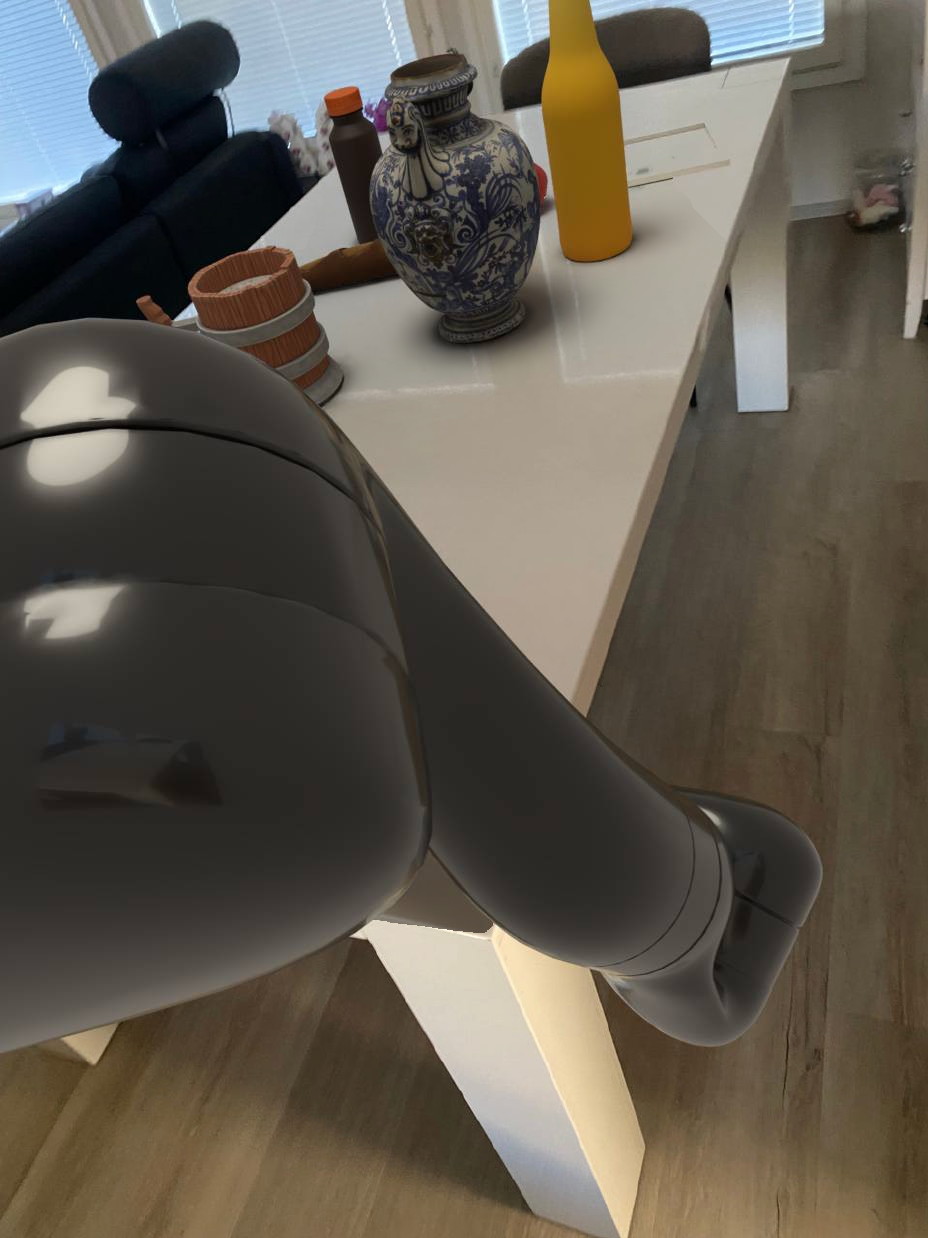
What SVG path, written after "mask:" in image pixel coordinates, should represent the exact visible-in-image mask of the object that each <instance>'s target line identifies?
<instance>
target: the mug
mask: <svg viewBox="0 0 928 1238" xmlns="http://www.w3.org/2000/svg"><path fill="white" fill-rule="evenodd" d="M299 267H300V266H299V264H298V262H297V259H296V256H295V254H294V252H293V250H291V249H290V248H284V247H278V246H276V245H266V246H265V247H261V248H255V249H251V250H250V249H249V250H245V251H239V252H236V253H233V254H231V255H230V254H229V255H228V256H225V257H224V258H222V259H219V260H218V261H216V262H214V263H212V264H210V265H207V266H205V267H203V268H201V269H200V270H198V271H196V272H195V274H194V275H193V276H192V278H191V279H190V281H189V283H188V286H187V291H188V295H189V296H190V299H191V303H192V304H193V306H194V308H195V310H196V313H197V315H196V316H192V317H187V318H183V319H178V320H172V319H171V317H170V316H169V315H168V314H166V313H165V312H164V311H163V308H162V307H160V306H159V305H158V304H156V303H155V302H153V299H152V298H151V296H150V295H144V296H142V297H140V298H138V299H137V300H136V304H137V307H138V308H139V310H140V311H141V312H142V313H143V315H144V316H145V318H146V319H147V321H152V322H156V323H161V324H165V325H169V326H174V327H178V328H182V329H187V330H191V331H195V332H200V333H202V334H205V335H207V336H209V337H212V338H214V339H216V340H219V341H221V342H223V343H226V344H228V345H230V346H233V347H235V348H238V349H240V350H242V351H245V352H247V353H249V354H251V355H253V356H255V357H256V358H258V359H260V360H261V361H263V362H265V363H266V364H268V365H270V366H271V367H273V368H275V369H276V370H278V371H279V372H280V373H282V374H283V375H284V376H286V377H287V378H288V379H290V380H291V381H292V382H294V383H295V384H296V385H298V386H299V387H300V388H301V389H302V390H303V391H304V392H305V393H306V394H308V395H309V396H310V397H311V398H312V399H313V400H314V401H315V402H316V403H317V404H318V405H319V406H320V405H322V404H324V403H325V402H327V400H329V399H330V398H331V397H332V396H333V395H334V394H335V392H337V390H338V388H339V386H340V384H341V382H342V380H343V377H344V373H343V372H344V371H343V369H342V366H341V365H340V364H339V363H338V362H337V361H336V360H334V358H333V357H331V356H330V354H328V352H329V350H330V341H329V338H328V336H327V332H326V328H325V327H324V325H323V324H322V323H321V322H319V321H318V320H317V318H316V315H315V313H314V309H315V307H316V299H315V296H314V294H313V291H312V290H311V287H310V285H309V283H308V282H307V281H306V280H304V279H302V276H301V273H300V270H299Z"/></svg>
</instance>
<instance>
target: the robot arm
mask: <svg viewBox="0 0 928 1238" xmlns="http://www.w3.org/2000/svg"><path fill="white" fill-rule="evenodd" d="M428 854H429V855H430V857H431V858H432V859H433V860H434V862H435V863H436V864H437V865H438V867H439V868H440V869H441V870H442V871H443V872H444V873H445V875H446V876H447V877H448V878H449V879H450V881H451V882H453V884H454V885H456V887H457V888H458V889H459V890H460V891H461V893H462V894H463V895H464V896H465V897H466V899H468V901H470V903H471V904H472V905H473V906H474V907H475V908H476V909H477V910H478V911H479V912H480V913H481V914H482V915H484V916H485V917H486V918H487V919H488V920H489V921H491V922H492V923H493V924H494V925H496V926H497V927H498V928H499V929H501V931H503V932H504V933H506V934H507V935H508V936H510V937H511V938H513V939H514V940H516V941H517V942H519V943H520V944H522V945H524V946H525V947H527V948H530V949H532V950H534V951H536V952H537V953H540V954H543V955H544V956H547V957H549V958H551V959H554V960H557V961H561V962H564V963H567V964H571V965H575V966H579V967H582V968H585V969H590V970H593V971H597V972H599V973H601V975H602V976H603V978H604V979H605V980H606V982H607V983H608V984H609V986H610V987H611V988H612V990H613V991H614V992H615V993H616V994H617V995H618V996H619V997H620V998H621V1000H623V1002H625V1004H626V1005H628V1007H630V1008H631V1009H632V1011H634V1012H635V1013H636V1014H637V1015H638V1016H639V1017H641V1018H642V1019H643V1020H644V1021H646V1022H647V1023H648V1024H650V1025H651V1026H653V1027H655V1028H656V1029H658V1030H659V1031H660V1032H662V1033H664V1034H666V1035H667V1036H669V1037H671V1038H673V1039H676V1040H677V1041H680V1042H683V1043H686V1044H689V1045H692V1046H696V1047H703V1048H704V1047H705V1048H715V1047H722V1046H725V1045H728V1044H731V1043H733V1042H734V1041H736V1040H738V1039H741V1037H742V1036H744V1035H745V1034H746V1033H747V1032H748V1031H749V1030H750V1029H751V1028H752V1027H753V1026H754V1024H755V1023H756V1022H757V1020H758V1018H760V1015H761V1014H762V1012H763V1010H764V1008H765V1006H766V1004H767V1002H768V1000H769V998H770V996H771V994H772V991H773V987H774V986H775V985H776V983H777V981H778V979H779V976H780V975H781V972H782V970H783V968H784V966H785V963H786V962H787V959H788V957H789V955H790V953H791V951H792V949H793V946H794V944H795V942H796V940H797V938H798V936H799V934H800V929H799V928H803V926H804V924H805V922H806V920H807V919H808V916H809V914H810V912H811V909H812V908H813V906H814V903H815V901H816V899H817V897H818V894H819V892H820V889H821V885H822V882H823V873H824V872H823V865H822V860H821V857H820V854H819V852H818V850H817V849H816V846H815V845H814V843H813V842H812V840H811V838H810V837H809V836H808V835H807V834H806V832H805V831H804V830H803V828H802V827H801V826H800V825H799V824H797V823H796V822H795V821H794V820H793V819H791V818H790V817H789V816H788V815H786V814H784V813H783V812H782V811H780V810H778V809H777V808H774V807H773V806H770V805H768V804H766V803H763V802H760V801H757V800H754V799H751V798H748V797H744V796H740V795H736V794H730V793H726V792H721V791H715V790H708V789H703V788H695V787H689V786H681V785H675V784H670V783H669V784H668V783H667V782H666V781H665V780H663V779H661V778H660V777H658V776H657V775H656V774H655V773H654V772H652V771H651V770H649V769H648V768H647V767H645V766H644V765H642V764H641V763H640V762H638V761H637V760H636V759H634V758H633V757H632V756H630V755H629V754H627V753H626V752H625V751H623V749H622V748H620V747H619V746H618V745H617V744H615V743H614V742H613V741H612V740H611V739H610V738H608V737H607V736H606V735H605V734H604V733H603V732H602V731H600V729H598V728H597V727H596V726H595V725H594V724H593V723H592V722H591V721H590V720H589V719H588V718H587V717H586V716H585V715H584V714H583V713H581V712H580V710H579V709H577V708H576V707H575V706H574V705H573V704H572V702H570V700H568V698H566V696H564V695H563V694H562V693H561V691H560V690H558V689H557V687H556V686H555V685H554V684H553V683H552V682H551V681H550V680H549V679H548V678H547V677H546V676H545V675H544V674H543V672H541V671H540V669H538V667H536V665H535V664H534V663H533V662H532V661H531V660H530V659H529V658H528V657H527V656H526V654H525V653H524V652H523V651H522V650H521V649H520V648H519V646H518V645H517V644H516V643H515V642H514V641H513V640H512V639H511V637H509V635H508V634H507V633H506V631H504V629H502V627H501V626H500V625H499V624H498V623H497V622H496V621H495V619H494V618H493V617H492V616H491V615H490V613H488V612H487V610H486V609H485V608H484V607H483V606H482V604H481V603H480V602H479V601H478V600H477V599H476V598H475V597H474V596H473V594H472V593H471V592H470V591H469V590H468V589H467V588H466V586H465V585H464V584H463V583H462V582H461V580H459V578H458V577H457V576H456V575H455V574H454V573H453V571H452V570H451V569H450V568H449V566H448V565H447V564H446V563H445V562H444V560H443V559H442V557H441V556H440V555H439V554H438V552H437V551H436V550H435V548H434V547H433V546H432V544H431V543H430V542H429V541H428V539H427V537H425V535H424V534H423V533H422V531H421V530H420V529H419V527H418V526H417V525H416V523H415V522H414V520H412V518H411V517H410V516H409V514H408V512H407V511H406V510H405V509H404V507H403V506H402V505H401V503H400V502H399V501H398V499H397V498H396V497H395V495H394V494H393V493H392V491H391V490H390V489H389V487H388V486H387V485H386V484H385V483H384V481H383V480H382V478H381V477H380V476H379V474H378V473H377V472H376V470H375V469H374V468H373V467H372V465H371V464H370V463H369V462H368V460H367V459H366V458H365V456H364V455H363V454H362V453H361V451H360V450H359V449H358V448H357V447H356V445H355V444H354V443H353V442H352V440H351V439H350V438H349V436H347V434H346V433H345V432H344V430H342V428H341V427H340V426H339V424H337V423H336V421H335V420H334V419H333V418H332V416H330V415H329V413H327V411H326V410H325V409H324V408H322V406H320V405H318V404H317V403H316V402H315V401H314V400H313V399H312V398H311V397H310V396H309V395H308V394H306V393H305V392H304V391H303V390H302V389H301V388H300V387H299V386H298V385H296V384H295V383H294V382H292V381H291V380H290V379H288V378H287V377H286V376H284V375H283V374H282V373H280V372H279V371H278V370H276V369H275V368H273V367H271V366H270V365H268V364H266V363H265V362H263V361H261V360H260V359H258V358H256V357H255V356H253V355H251V354H249V353H247V352H245V351H242V350H240V349H238V348H235V347H233V346H230V345H228V344H226V343H223V342H221V341H219V340H216V339H214V338H212V337H209V336H207V335H205V334H202V333H200V331H198V332H195V331H191V330H187V329H182V328H178V327H174V326H169V325H165V324H161V323H156V322H152V321H148V320H145V319H143V320H141V319H126V318H125V319H123V318H107V317H106V318H103V317H85V318H78V319H71V320H63V321H57V322H50V323H41V324H36V325H34V326H30V327H28V328H25V329H22V330H19V331H16V332H14V333H11V334H8V335H4V336H2V337H0V1056H1V1055H4V1054H9V1053H12V1052H15V1051H19V1050H22V1049H26V1048H30V1047H35V1046H38V1045H41V1044H45V1043H48V1042H52V1041H53V1042H54V1041H56V1040H59V1039H63V1038H67V1037H70V1036H75V1035H78V1034H81V1033H85V1032H89V1031H92V1030H96V1029H100V1028H104V1027H108V1026H112V1025H114V1024H118V1023H123V1022H126V1021H130V1020H132V1019H136V1018H141V1017H143V1016H146V1015H150V1014H153V1013H157V1012H160V1011H163V1010H166V1009H167V1010H168V1009H169V1008H173V1007H178V1006H180V1005H183V1004H187V1003H190V1002H193V1001H196V1000H200V999H203V998H206V997H207V998H208V997H210V996H214V995H217V994H219V993H223V992H226V991H229V990H232V989H235V988H238V987H240V986H243V985H246V984H249V983H252V982H255V981H257V980H260V979H263V978H265V977H268V976H271V975H273V974H276V973H278V972H281V971H282V970H285V969H287V968H289V967H291V966H294V965H296V964H298V963H301V962H304V961H306V960H308V959H310V958H313V957H315V956H317V955H318V954H320V953H322V952H324V951H326V950H328V949H330V948H332V947H333V946H335V945H337V944H339V943H341V942H342V941H344V940H346V939H348V938H350V937H351V936H353V935H355V934H356V933H357V932H359V931H360V930H362V929H364V927H367V925H369V924H370V923H371V922H372V921H374V920H376V918H378V917H380V916H381V915H383V913H384V912H386V911H387V910H389V909H390V908H392V907H393V906H394V905H395V904H396V903H397V902H398V900H400V899H401V898H402V896H403V895H404V894H405V893H406V892H407V891H408V890H409V889H410V888H411V886H412V885H413V883H414V882H415V880H416V879H417V877H418V876H419V874H420V873H421V872H422V869H423V866H424V864H425V862H426V860H427V857H428Z"/></svg>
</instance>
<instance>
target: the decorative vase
mask: <svg viewBox="0 0 928 1238" xmlns="http://www.w3.org/2000/svg"><path fill="white" fill-rule="evenodd" d="M478 75H479V73H478V70H477V68H476V66H474V65H473V64H471V63H468V60H467V57H466V56H465V54H464V53H460V52H459V50H458V49H457V48H456V47H453V46H452V47H451V46H450V47H448V48H447V49H446V51H445V53H443V54H436V55H432V56H426V57H422V58H420V59H417V60H413V61H410V62H408V63H405V64H403V65H401V66H399V67H397V68H396V69H395V70H393V71H392V72H391V73H390V76H389V77H390V83H389V84H388V85H387V86H386V87H385V89H384V94H383V95H384V98H385V99H386V100H387V101H390V102H392V105H391V107H390V108H386V111H385V123H386V129H387V133H388V136H389V137H388V138H389V141H390V144H389V145H388V146H387V148H386V149H385V151H384V152H382V153H383V155H382V156H381V157H380V159H379V160H378V162H377V163H376V165H375V168H374V170H373V173H372V176H371V181H370V189H369V196H370V206H371V212H372V216H373V221H374V224H375V228H376V231H377V234H378V237H379V239H380V242H381V244H382V246H383V249H384V251H385V253H386V255H387V257H388V258H389V260H390V262H391V264H392V265H393V267H394V268H395V270H396V272H397V273H398V274H397V275H398V276H399V278H400V279H401V280H402V282H403V283H404V284H405V285H406V286H407V288H408V289H409V291H410V292H412V293H413V295H414V296H416V298H418V299H419V301H421V302H422V303H423V304H424V305H426V306H427V307H428V308H430V309H432V310H434V311H436V312H438V313H439V314H443V315H442V316H441V318H440V319H439V324H438V331H439V334H440V336H441V337H442V338H443V339H444V340H446V341H448V342H450V343H455V344H472V343H473V344H474V343H475V344H476V343H481V342H487V341H490V340H493V339H496V338H498V337H501V336H503V335H506V334H507V333H509V332H511V331H513V330H514V329H516V328H517V327H518V326H519V325H521V323H522V322H523V321H524V319H525V316H526V309H525V308H526V307H525V305H524V303H523V302H522V301H521V300H520V299H519V298H517V297H515V296H516V295H517V293H518V292H519V291H520V289H521V288H522V287H523V285H524V284H525V282H526V280H527V278H528V276H529V273H530V271H531V268H532V266H533V262H534V259H535V255H536V252H537V246H538V241H539V234H540V229H541V214H542V213H541V212H542V211H541V210H542V208H541V204H540V192H539V184H538V178H537V173H536V169H535V165H534V163H535V162H534V159H533V156H532V154H531V151H530V149H529V147H528V145H527V144H526V142H525V141H524V139H523V138H522V137H521V136H520V134H518V133H517V132H516V131H515V130H514V129H513V128H512V127H511V126H509V125H507V124H506V123H504V122H501V121H498V120H495V119H490V118H484V117H480V116H479V115H478V114H476V113H474V112H472V111H471V109H472V103H471V101H470V100H469V99H468V97H469V96H470V95H471V93H472V91H473V89H474V81H475V79H477V78H478Z"/></svg>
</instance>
